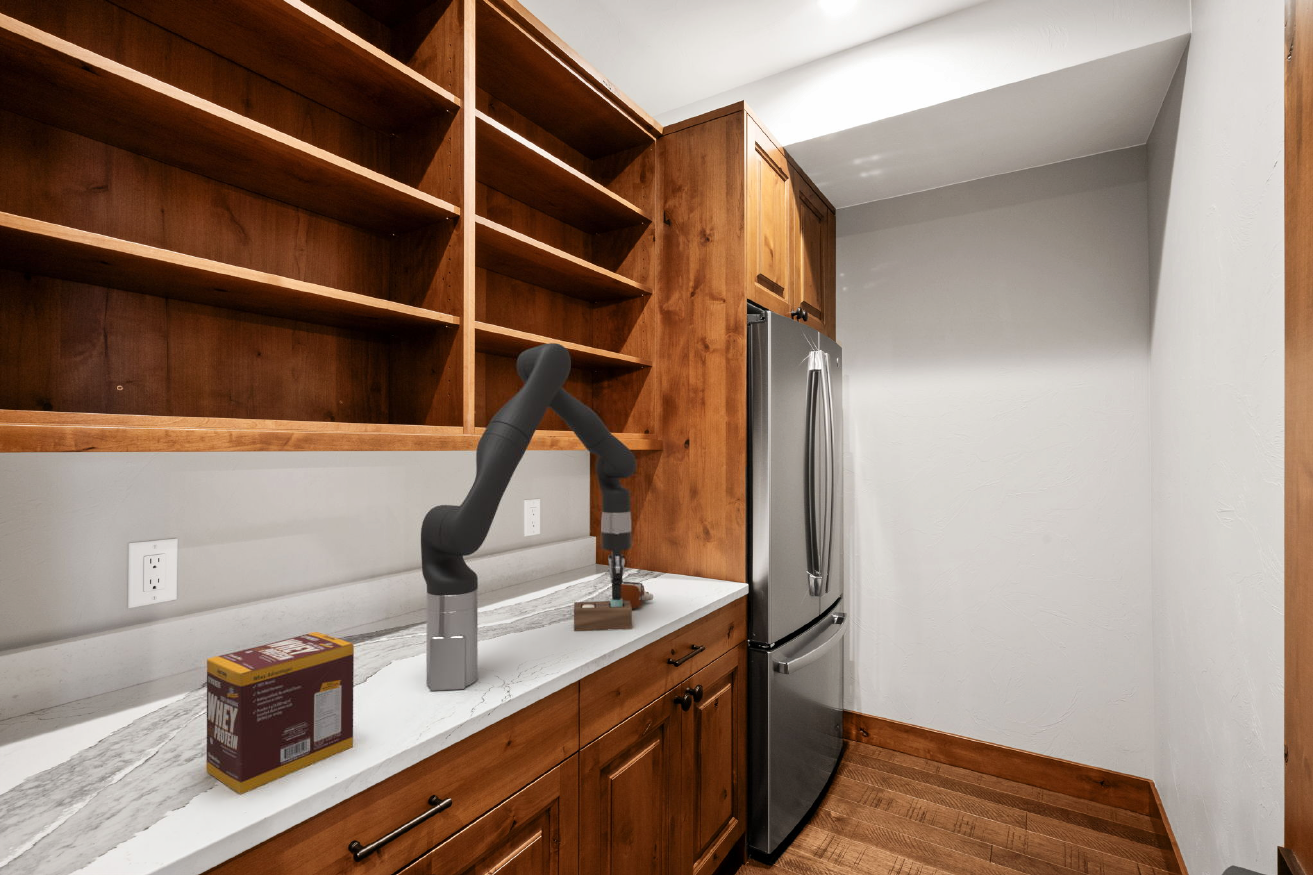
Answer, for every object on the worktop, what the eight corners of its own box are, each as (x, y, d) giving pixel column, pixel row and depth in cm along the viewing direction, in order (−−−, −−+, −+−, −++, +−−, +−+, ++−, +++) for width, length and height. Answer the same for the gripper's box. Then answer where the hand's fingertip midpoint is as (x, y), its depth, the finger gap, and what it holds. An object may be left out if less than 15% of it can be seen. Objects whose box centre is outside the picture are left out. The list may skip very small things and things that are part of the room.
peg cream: (594, 627, 151) (594, 607, 151) (582, 628, 151) (582, 607, 151) (594, 624, 154) (594, 604, 154) (582, 624, 154) (582, 604, 154)
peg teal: (622, 620, 152) (622, 600, 152) (610, 621, 152) (610, 600, 152) (622, 617, 155) (622, 597, 155) (610, 617, 155) (610, 597, 155)
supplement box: (203, 772, 84) (204, 657, 84) (317, 729, 97) (318, 630, 97) (238, 796, 78) (239, 673, 78) (354, 747, 91) (355, 641, 91)
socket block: (631, 629, 150) (631, 608, 150) (573, 631, 148) (573, 610, 148) (629, 619, 158) (629, 600, 158) (574, 621, 156) (574, 602, 156)
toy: (659, 582, 180) (641, 583, 166) (657, 605, 179) (639, 609, 165) (629, 579, 183) (610, 581, 169) (628, 603, 182) (608, 607, 168)
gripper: (600, 526, 160) (600, 593, 159) (602, 533, 147) (602, 606, 146) (629, 525, 161) (629, 592, 160) (633, 533, 147) (633, 605, 147)
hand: (616, 599), depth 153 cm, fingers closed
